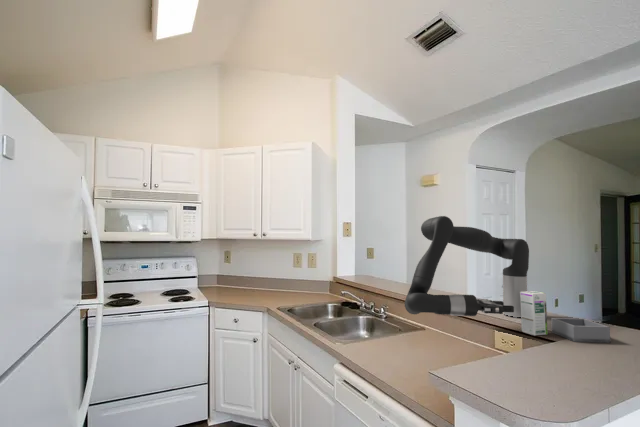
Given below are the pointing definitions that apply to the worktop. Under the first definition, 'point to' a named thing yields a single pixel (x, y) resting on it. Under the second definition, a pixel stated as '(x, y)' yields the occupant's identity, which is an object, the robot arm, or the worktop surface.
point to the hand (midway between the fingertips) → (508, 306)
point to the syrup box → (533, 312)
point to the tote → (580, 330)
